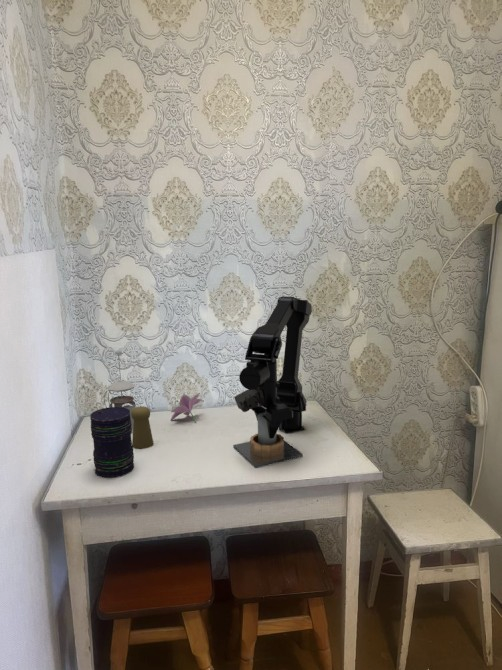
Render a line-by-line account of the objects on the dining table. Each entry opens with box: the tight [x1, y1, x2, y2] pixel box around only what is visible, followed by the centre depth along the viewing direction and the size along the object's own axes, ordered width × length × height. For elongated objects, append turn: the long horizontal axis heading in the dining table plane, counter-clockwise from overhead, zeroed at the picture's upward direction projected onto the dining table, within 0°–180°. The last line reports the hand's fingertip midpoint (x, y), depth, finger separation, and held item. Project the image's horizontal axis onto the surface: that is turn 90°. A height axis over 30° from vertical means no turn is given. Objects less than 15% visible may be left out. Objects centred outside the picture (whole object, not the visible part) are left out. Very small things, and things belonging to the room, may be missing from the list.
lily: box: [170, 392, 203, 424], centre depth 160 cm, size 12×12×10 cm
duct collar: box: [232, 433, 304, 469], centre depth 136 cm, size 14×14×4 cm
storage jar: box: [89, 406, 135, 479], centre depth 127 cm, size 10×10×15 cm
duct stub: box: [257, 412, 277, 445], centre depth 135 cm, size 5×5×8 cm
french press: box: [103, 349, 136, 435], centre depth 153 cm, size 10×12×25 cm
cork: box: [131, 405, 155, 450], centre depth 142 cm, size 6×6×11 cm
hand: (266, 434), depth 136 cm, fingers closed on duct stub, 5 cm apart
